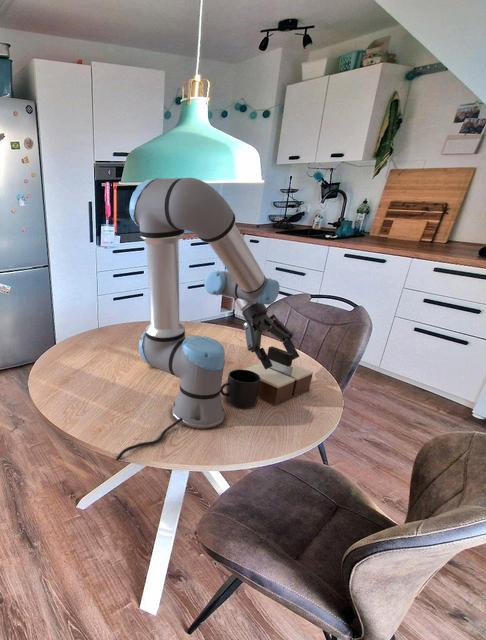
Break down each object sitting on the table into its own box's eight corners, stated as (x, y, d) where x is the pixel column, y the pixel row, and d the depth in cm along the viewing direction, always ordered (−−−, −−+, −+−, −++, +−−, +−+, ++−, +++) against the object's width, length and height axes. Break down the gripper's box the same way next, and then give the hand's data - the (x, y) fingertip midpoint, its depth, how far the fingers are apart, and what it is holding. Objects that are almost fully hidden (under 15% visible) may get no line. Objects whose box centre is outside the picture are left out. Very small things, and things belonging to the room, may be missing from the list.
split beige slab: (274, 405, 121) (278, 386, 118) (239, 387, 131) (241, 369, 129) (309, 390, 129) (313, 371, 126) (273, 374, 140) (276, 357, 137)
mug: (213, 395, 126) (215, 370, 123) (247, 392, 128) (251, 368, 124) (224, 410, 118) (228, 384, 114) (261, 407, 119) (266, 381, 116)
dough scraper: (286, 390, 125) (293, 356, 120) (260, 378, 133) (266, 346, 128) (289, 388, 126) (296, 355, 121) (264, 377, 134) (269, 345, 129)
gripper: (268, 307, 139) (297, 359, 134) (218, 318, 128) (248, 376, 122) (283, 295, 133) (315, 349, 128) (232, 306, 121) (265, 367, 116)
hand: (282, 363), depth 125 cm, fingers open, 13 cm apart
